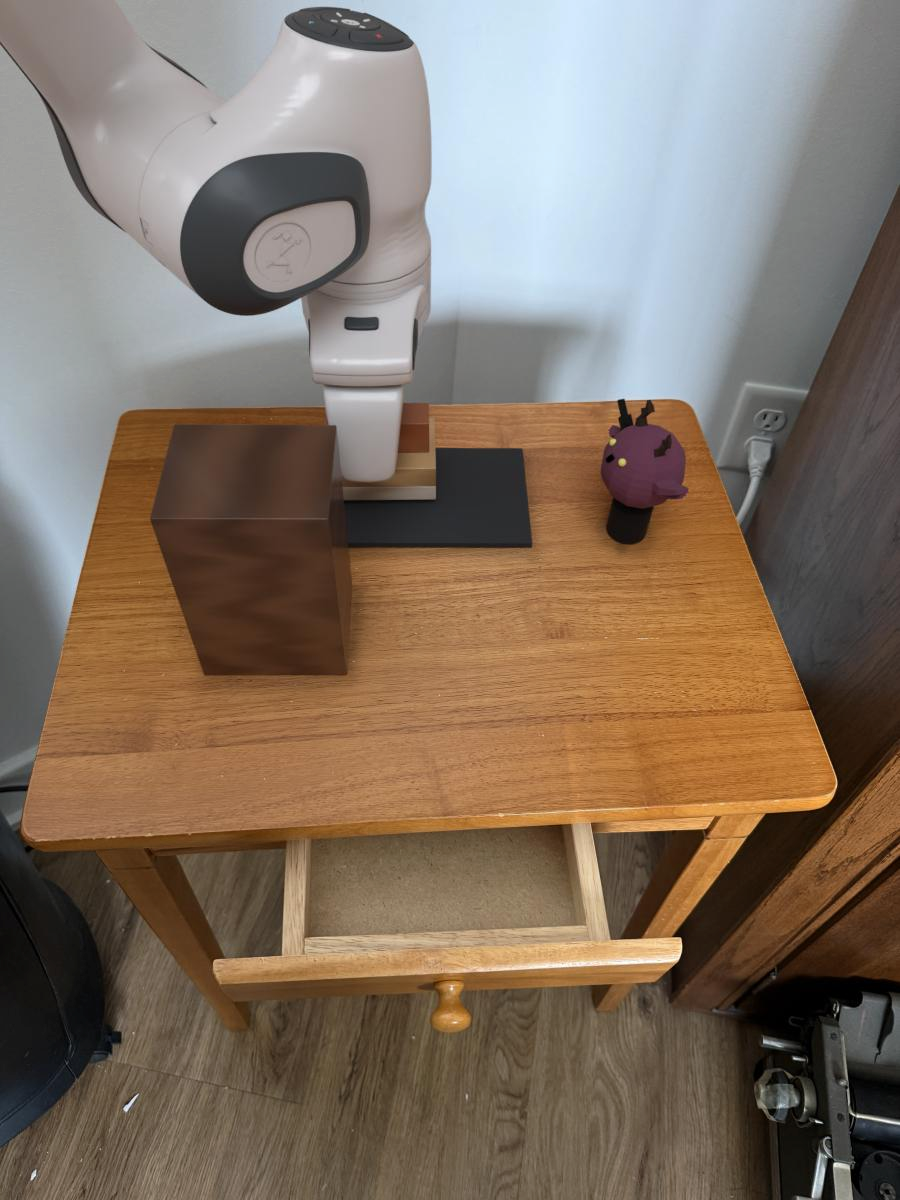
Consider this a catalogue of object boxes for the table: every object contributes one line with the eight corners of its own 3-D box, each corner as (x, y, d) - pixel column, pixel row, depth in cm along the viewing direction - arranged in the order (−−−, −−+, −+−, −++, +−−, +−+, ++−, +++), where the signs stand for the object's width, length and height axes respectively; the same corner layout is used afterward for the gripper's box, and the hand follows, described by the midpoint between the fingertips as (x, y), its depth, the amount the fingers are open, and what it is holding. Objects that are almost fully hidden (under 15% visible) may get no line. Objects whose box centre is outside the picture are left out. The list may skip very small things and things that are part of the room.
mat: (278, 547, 70) (277, 542, 69) (290, 451, 77) (290, 446, 76) (531, 547, 71) (532, 542, 70) (521, 453, 77) (522, 447, 77)
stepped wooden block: (324, 501, 72) (316, 440, 67) (328, 450, 75) (321, 388, 70) (435, 500, 72) (436, 439, 67) (434, 449, 76) (434, 388, 71)
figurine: (600, 482, 75) (626, 365, 66) (691, 515, 73) (730, 399, 64) (563, 543, 71) (584, 428, 62) (658, 581, 69) (695, 467, 59)
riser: (203, 675, 62) (149, 518, 50) (219, 587, 67) (173, 423, 55) (346, 675, 63) (328, 519, 50) (352, 587, 68) (336, 424, 55)
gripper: (328, 206, 66) (342, 360, 77) (307, 381, 54) (327, 535, 65) (413, 207, 66) (414, 360, 77) (412, 381, 54) (414, 535, 65)
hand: (375, 441), depth 71 cm, fingers closed on stepped wooden block, 2 cm apart
